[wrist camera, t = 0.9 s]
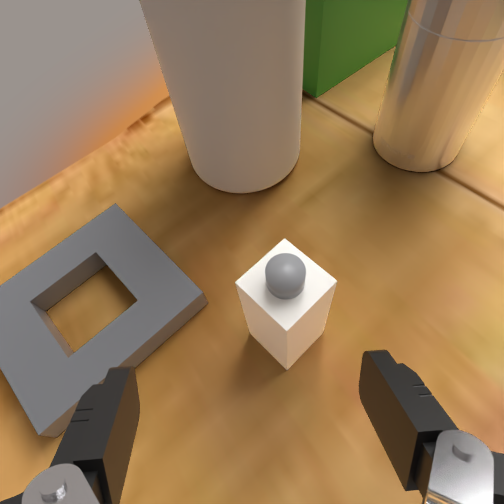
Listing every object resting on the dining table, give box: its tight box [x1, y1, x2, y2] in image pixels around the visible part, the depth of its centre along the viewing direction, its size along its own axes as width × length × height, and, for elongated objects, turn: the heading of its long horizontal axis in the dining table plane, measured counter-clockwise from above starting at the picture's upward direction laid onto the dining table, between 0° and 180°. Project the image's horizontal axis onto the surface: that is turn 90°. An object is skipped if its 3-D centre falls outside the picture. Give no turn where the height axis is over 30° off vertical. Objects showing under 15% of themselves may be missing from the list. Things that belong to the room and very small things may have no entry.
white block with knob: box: [235, 238, 337, 370], centre depth 27 cm, size 4×4×12 cm
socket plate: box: [0, 203, 208, 437], centre depth 34 cm, size 16×14×2 cm
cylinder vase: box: [139, 0, 306, 193], centre depth 32 cm, size 12×12×25 cm
